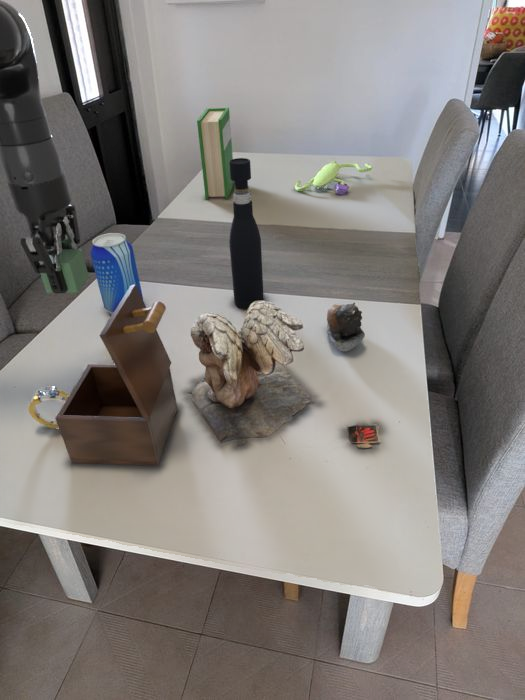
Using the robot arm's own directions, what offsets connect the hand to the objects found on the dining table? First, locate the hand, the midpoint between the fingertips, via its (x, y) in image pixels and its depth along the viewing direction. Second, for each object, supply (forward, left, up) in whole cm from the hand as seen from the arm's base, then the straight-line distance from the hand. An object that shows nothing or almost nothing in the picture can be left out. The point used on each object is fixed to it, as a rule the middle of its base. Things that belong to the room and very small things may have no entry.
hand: (67, 283), depth 81 cm
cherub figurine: (+28, -4, -20) cm, 35 cm away
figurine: (+44, +108, -20) cm, 118 cm away
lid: (+14, -13, -4) cm, 20 cm away
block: (0, 0, 0) cm, 0 cm away
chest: (+10, -13, -19) cm, 25 cm away
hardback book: (+6, +103, -20) cm, 105 cm away
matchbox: (+46, -12, -20) cm, 52 cm away
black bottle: (+24, +28, -20) cm, 42 cm away
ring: (-2, -12, -20) cm, 23 cm away
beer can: (-3, +25, -20) cm, 32 cm away
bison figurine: (+44, +14, -20) cm, 51 cm away
